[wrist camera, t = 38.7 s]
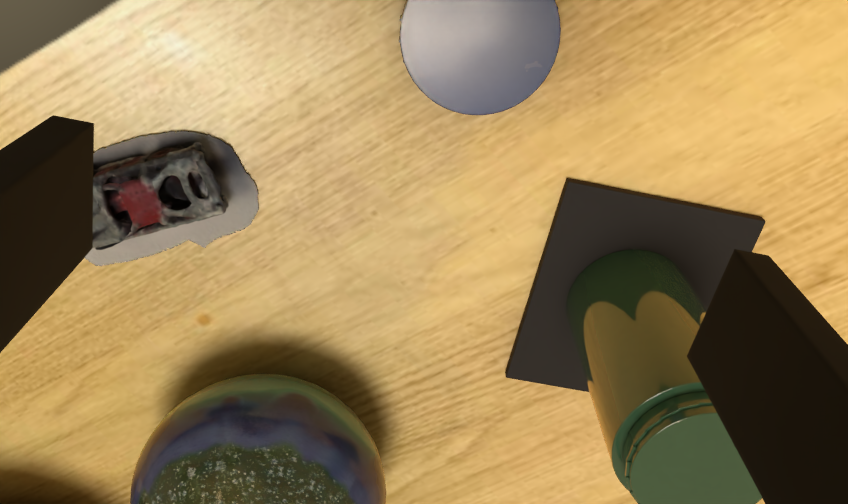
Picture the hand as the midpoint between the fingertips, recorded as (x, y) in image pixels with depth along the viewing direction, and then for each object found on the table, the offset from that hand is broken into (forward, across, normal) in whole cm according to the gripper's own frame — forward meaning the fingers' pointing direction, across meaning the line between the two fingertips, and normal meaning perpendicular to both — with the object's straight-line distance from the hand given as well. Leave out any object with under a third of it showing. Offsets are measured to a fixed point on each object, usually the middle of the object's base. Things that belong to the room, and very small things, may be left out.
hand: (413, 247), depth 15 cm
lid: (+25, +3, 0) cm, 25 cm away
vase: (+27, -4, -29) cm, 40 cm away
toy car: (+27, -13, -13) cm, 33 cm away
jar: (+26, +16, -14) cm, 34 cm away
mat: (+27, +16, -14) cm, 34 cm away
